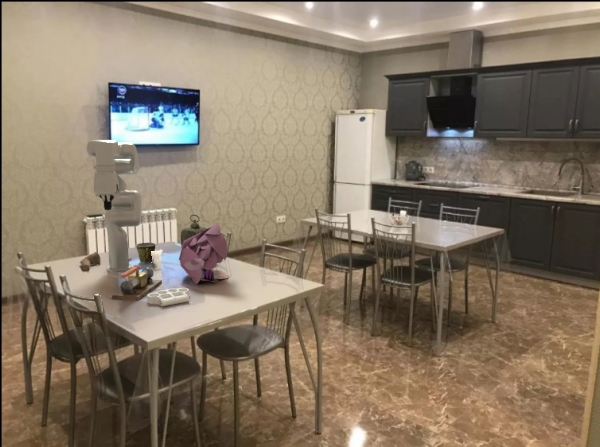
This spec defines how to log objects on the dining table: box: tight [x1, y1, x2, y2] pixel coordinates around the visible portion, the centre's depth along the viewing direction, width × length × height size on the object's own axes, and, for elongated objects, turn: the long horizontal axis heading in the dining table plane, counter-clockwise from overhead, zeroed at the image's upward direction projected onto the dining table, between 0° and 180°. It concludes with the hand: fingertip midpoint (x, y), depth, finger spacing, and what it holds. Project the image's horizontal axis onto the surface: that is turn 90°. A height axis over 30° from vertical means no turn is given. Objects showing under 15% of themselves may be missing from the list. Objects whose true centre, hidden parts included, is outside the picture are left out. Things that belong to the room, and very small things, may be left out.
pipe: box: [79, 251, 101, 271], centre depth 257 cm, size 6×17×10 cm
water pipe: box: [119, 267, 155, 294], centre depth 219 cm, size 22×6×8 cm, turn 172°
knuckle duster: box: [146, 287, 190, 307], centre depth 209 cm, size 3×18×15 cm
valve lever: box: [119, 264, 141, 279], centre depth 212 cm, size 3×15×1 cm, turn 174°
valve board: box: [111, 279, 163, 301], centre depth 220 cm, size 24×12×2 cm, turn 172°
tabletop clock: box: [180, 214, 208, 248], centre depth 274 cm, size 14×9×25 cm, turn 58°
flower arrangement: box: [178, 223, 230, 285], centre depth 240 cm, size 35×24×28 cm
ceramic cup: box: [135, 242, 157, 265], centre depth 264 cm, size 13×10×10 cm
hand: (108, 209), depth 223 cm, fingers closed
